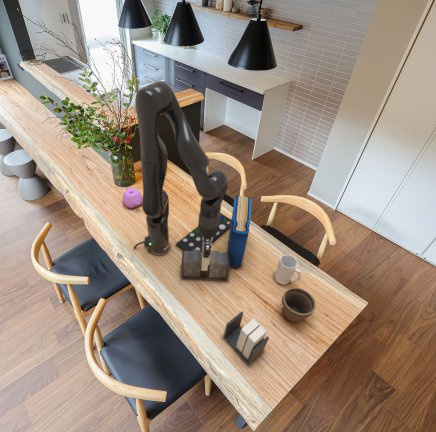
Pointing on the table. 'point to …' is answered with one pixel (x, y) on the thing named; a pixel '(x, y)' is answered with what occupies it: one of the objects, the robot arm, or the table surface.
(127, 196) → the teapot
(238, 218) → the book
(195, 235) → the remote control
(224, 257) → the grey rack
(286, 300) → the flower pot
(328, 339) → the table surface
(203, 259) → the white book
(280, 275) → the mug
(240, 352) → the dark book holder
